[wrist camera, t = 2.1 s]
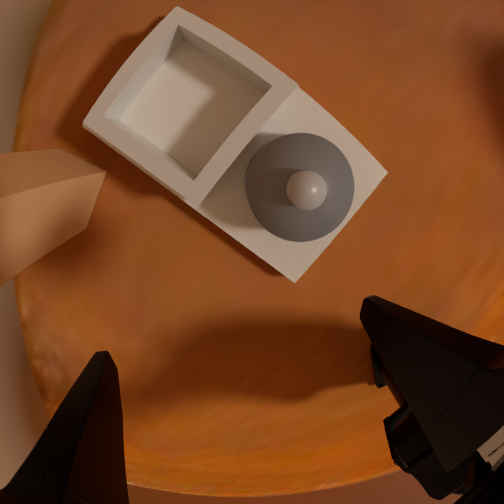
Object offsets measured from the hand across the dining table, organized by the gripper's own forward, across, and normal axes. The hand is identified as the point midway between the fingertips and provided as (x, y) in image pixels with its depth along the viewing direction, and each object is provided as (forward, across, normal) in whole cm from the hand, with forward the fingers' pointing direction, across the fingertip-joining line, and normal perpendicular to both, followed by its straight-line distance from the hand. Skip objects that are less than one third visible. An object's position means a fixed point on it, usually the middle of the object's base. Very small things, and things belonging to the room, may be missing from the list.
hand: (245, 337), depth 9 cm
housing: (+12, -3, -5) cm, 13 cm away
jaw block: (+14, +9, -3) cm, 17 cm away
